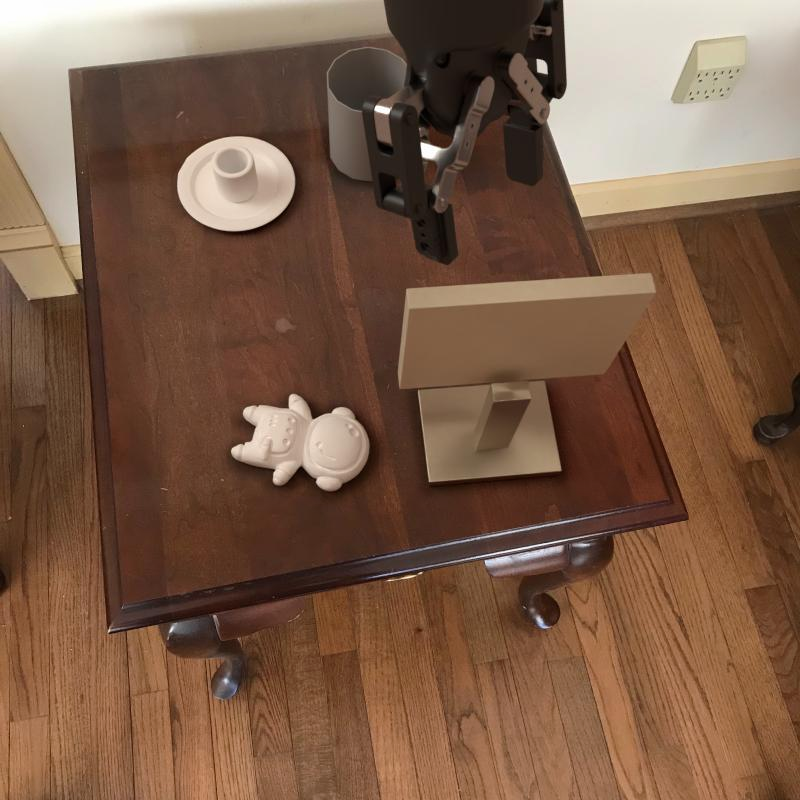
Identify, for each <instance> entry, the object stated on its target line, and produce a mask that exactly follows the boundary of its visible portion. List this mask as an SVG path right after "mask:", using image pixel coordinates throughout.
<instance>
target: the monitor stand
mask: <svg viewBox="0 0 800 800" xmlns="http://www.w3.org/2000/svg"><path fill="white" fill-rule="evenodd" d="M547 390H548V389H547V384H546V381H545V380H533V381H531V380H530V381H529V380H518V381H505V382H491V383H489V384H478V385H477V384H476V385H463V386H451V387H450V386H449V387H440V388H439V387H437V388H422V389H418V390H417V393H416V397H417V407H418V415H419V421H420V422H419V423H420V432H421V439H422V448H423V455H424V464H425V465H424V466H425V471H426V481H427V486H428V487H435V486H448V485H459V484H472V483H481V482H493V481H495V482H497V481H505V480H506V481H507V480H518V479H530V478H542V477H552V476H553V477H554V476H560V474H561V473H562V471H563V469H562V463H561V459H560V454H559V447H558V443H557V437H556V433H555V426H554V423H553V422H554V421H553V416H552V412H551V405H550V401H549V395H548V391H547Z"/></svg>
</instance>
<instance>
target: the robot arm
mask: <svg viewBox="0 0 800 800" xmlns="http://www.w3.org/2000/svg"><path fill="white" fill-rule="evenodd" d="M383 5H384V11H385V18H386V23H387V27H388V30H389V32H390V33H391V35H392V37H394V39H395V40H396V41H397V43H398V44H399V46H400V47H401V49H402V51H403V53H404V55H405V58H406V64H407V68H406V76H405V82H404V88H403V89H402V90H400V91H399V92H397V93H396V94H394V95H392V96H391V97H389V98H388V99H385V98H381V97H377V96H373V95H371V96H369V97H367V98H366V99H365V101H364V103H363V106H362V117H363V123H364V130H365V136H366V143H367V149H368V156H369V162H370V169H371V175H372V188H373V195H374V201H375V205H376V207H377V209H380V210H383V211H386V212H388V213H392V214H395V215H397V216H399V217H403V218H406V219H409V220H410V223H411V229H412V233H413V240H414V245H415V250H416V251H417V253H418V254H419V255H421V256H423V257H425V258H426V259H429V260H431V261H434V262H436V263H440V264H442V265H445V266H449V265H451V264H452V263H453V262H454V261H455V260H456V259H457V258H458V257H459V250H458V249H459V248H458V240H457V234H456V225H455V217H454V210H453V209H454V208H453V204H452V203H450V201H451V198H452V196H453V195H452V194H453V192H454V188H455V183H456V181H457V176H458V173H459V172H460V171H461V170H464V169H466V168H467V167H468V166H469V164H470V161H471V157H472V154H473V150H474V147H475V142H476V139H477V138H478V137H480V136H481V135H482V134H483V133H484V131H486V129H487V128H488V126H489V125H490V124H491V123H492V122H496V121H497V120H499V119H501V118H502V117H503V116H507V117H509V118H508V119H506V120H505V121H504V122H503V123H502V131H503V132H502V133H503V144H504V146H503V147H504V158H505V159H504V160H505V173H506V176H507V177H508V179H510V180H511V181H513V182H516V183H521V184H523V185H526V186H529V187H534V186H536V185H537V184H539V182H540V181H541V180H542V179H543V178H544V159H545V157H544V156H545V155H544V126H543V125H544V124H545V123H547V121H548V119H549V116H550V112H551V105H550V103H551V102H552V101H553V99H554V100H561V99H562V98H564V95H565V94H566V91H567V86H568V80H567V79H568V78H567V77H568V75H567V56H566V53H567V52H566V34H565V33H566V31H565V30H566V29H565V10H564V9H565V8H564V7H565V6H564V0H383ZM538 60H539V61H543V62H545V64H546V70H547V71H546V72H547V73H543V72H539V71H538ZM431 127H432V129H434V130H435V131H436V132H437V133H439V134H440V135H444V136H446V137H451V138H452V142H451V144H449V146H448V147H445V148H444V147H441V146H437V145H434V144H433V143H431V142H430V139H429V134H430V130H431ZM431 161H432V162H435V164H436V165H437V170H436V172H435V175H434V176H435V177H434V180H433V183H432V184H429V183H427V182H426V180H425V176H426V173H427V169H428V165H429V163H430V162H431ZM396 178H397V179H398V180H399V182H400V184H399V185H397V180H396Z"/></svg>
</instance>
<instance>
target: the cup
mask: <svg viewBox="0 0 800 800" xmlns="http://www.w3.org/2000/svg"><path fill="white" fill-rule="evenodd" d="M406 68H407V62H406V61H405V60H404V59H403V58H402V57H400V56H399V55H397V54H395V53H394V52H392V51H390V50H388V49H385V48H379V47H372V46H363V47H359V48H354V49H349V50H347V51H345V52H344V53H342V54H341V55H338V57H336V58H334V60H333V61H332V62H331V65H330V67H328V70H327V72H326V86H327V91H326V92H327V112H328V113H327V115H328V135H329V136H328V139H329V157H330V160H331V161H332V163H333V164H334V166H335V167H336V169H337V170H338V171H339V172H341V173H343V174H344V175H346V176H348V177H349V178H350V179H352V180H357V181H364V182H368V183H369V182H370V183H371V182H372V175H371V169H370V162H369V156H368V149H367V143H366V136H365V130H364V123H363V117H362V106H363V103H364V101H365V99H366V98H367V97H369V96H371V95H373V96H377V97H381V98H385V99H388V98H389V97H391V96H392V95H394V94H396V93H397V92H399V91H400V90H402V89H403V88H404V82H405V76H406ZM372 183H373V182H372Z"/></svg>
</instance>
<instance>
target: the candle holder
mask: <svg viewBox="0 0 800 800" xmlns="http://www.w3.org/2000/svg"><path fill="white" fill-rule="evenodd" d="M289 160H290V159H288V157H287V156H286V155H285V154H284V153H283V152H282V151H281V150H280V149H278V147H276V146H274V145H273V144H271V143H269V142H267V141H265V140H262V139H260V138H256V137H251V136H240V135H239V136H235V135H234V136H228V137H222V138H218V139H215V140H212V141H209V142H208V143H206V144H203V145H202V146H200V147H199V148H197V149H195V150H194V151H193V152H192V153H190V154H189V156H187V157H186V159H185V161H184V162H183V164H182V166H181V168H180V169H179V171H178V173H177V181H176V182H177V183H176V184H177V185H176V186H177V194H178V198H179V200H180V203H181V205H182V206H183V209H184V210H185V211H186V212H187V213H188V214H189V215H190V216H191V218H193V219H195V220H196V221H197V222H199V223H200V224H202V225H205V226H207V227H209V228H211V229H214V230H218V231H219V230H220V231H225V232H242V231H243V232H245V231H250V230H253V229H257V228H259V227H262V226H264V225H267V224H268V223H270V222H272V221H273V220H275V219H276V218H277V217H279V216H280V215H281V214H282V213H283V212H284V211H285V209H286V208H287V207H288V205H289V204H290V202H291V200H292V198H293V196H294V193H295V188H296V175H295V171H294V168H293V166H292V164H291V162H290V161H289Z"/></svg>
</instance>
